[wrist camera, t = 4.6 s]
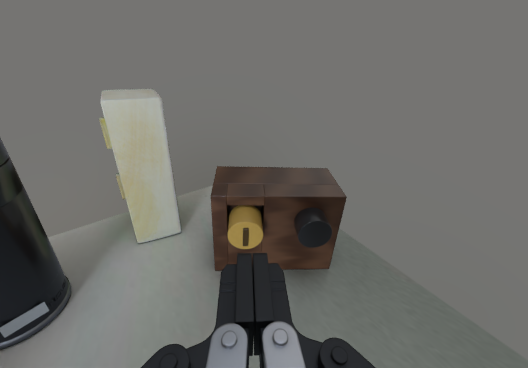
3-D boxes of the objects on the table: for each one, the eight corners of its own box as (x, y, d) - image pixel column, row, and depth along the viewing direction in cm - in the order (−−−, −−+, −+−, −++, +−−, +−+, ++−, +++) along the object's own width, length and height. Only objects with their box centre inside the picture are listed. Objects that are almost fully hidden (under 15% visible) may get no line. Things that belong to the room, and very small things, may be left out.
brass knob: (227, 251, 29) (226, 223, 27) (229, 230, 32) (228, 203, 30) (262, 251, 29) (264, 223, 27) (260, 229, 32) (262, 203, 31)
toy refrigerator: (128, 217, 44) (95, 89, 34) (172, 207, 47) (154, 88, 37) (131, 246, 38) (92, 101, 28) (181, 233, 41) (163, 98, 31)
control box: (212, 287, 32) (207, 209, 26) (219, 232, 41) (217, 166, 36) (335, 284, 33) (355, 209, 28) (315, 232, 43) (327, 168, 37)
